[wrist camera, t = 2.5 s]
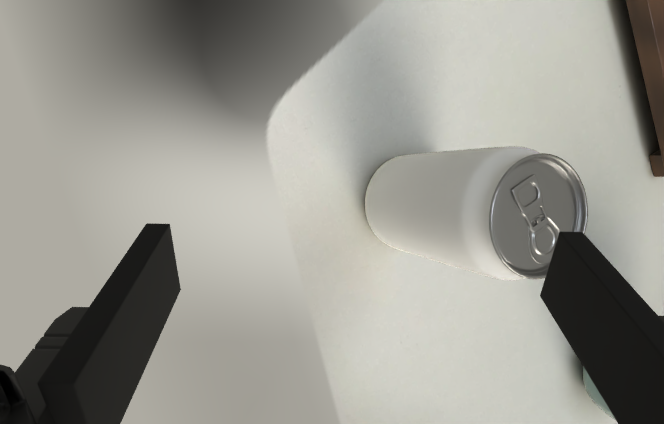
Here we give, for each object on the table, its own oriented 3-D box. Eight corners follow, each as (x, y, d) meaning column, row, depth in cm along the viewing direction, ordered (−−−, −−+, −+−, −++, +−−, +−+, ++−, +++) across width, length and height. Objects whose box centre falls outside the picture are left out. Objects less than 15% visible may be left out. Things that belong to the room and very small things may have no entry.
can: (386, 267, 32) (515, 317, 21) (345, 183, 30) (460, 188, 19) (457, 219, 34) (611, 241, 22) (422, 138, 32) (568, 118, 21)
